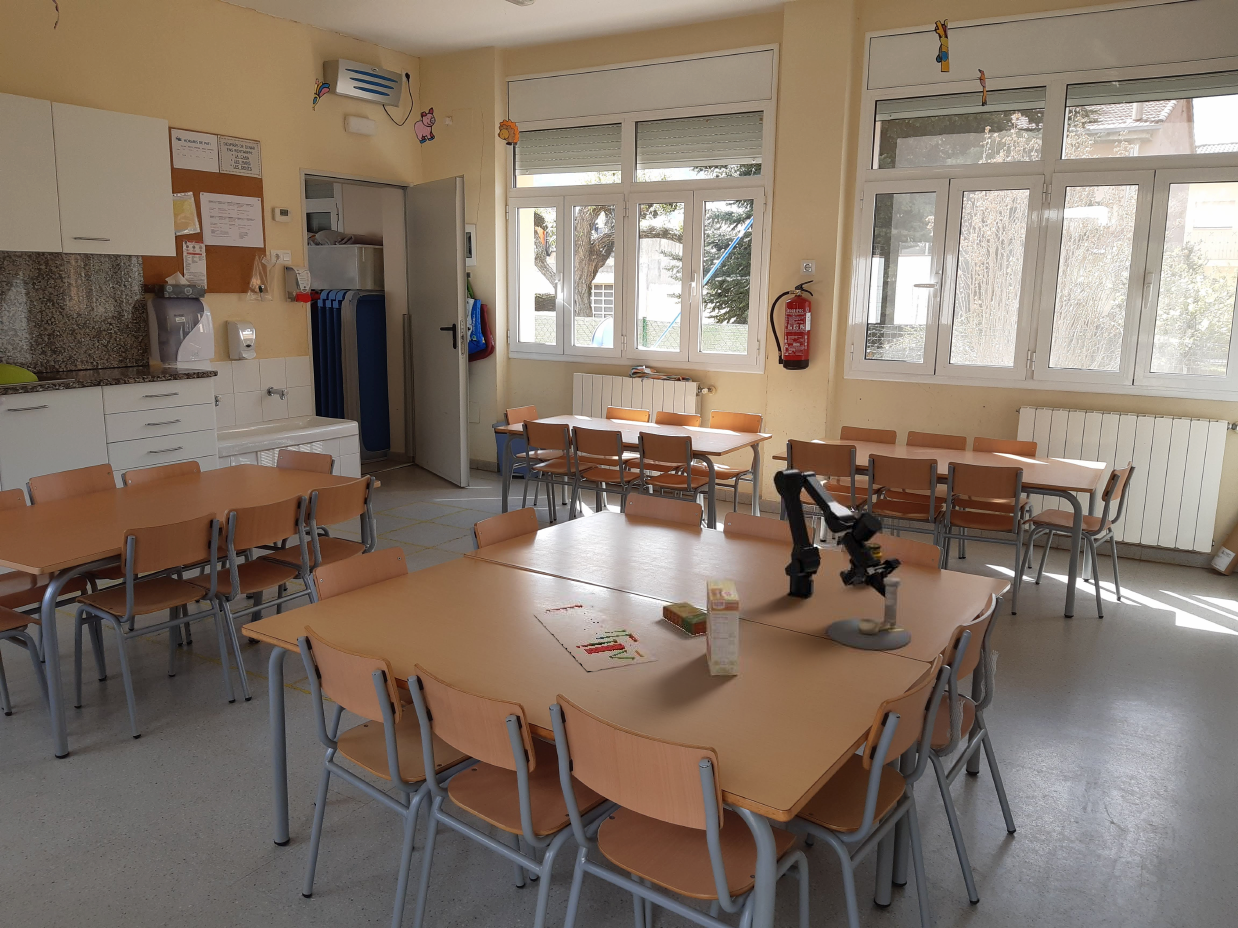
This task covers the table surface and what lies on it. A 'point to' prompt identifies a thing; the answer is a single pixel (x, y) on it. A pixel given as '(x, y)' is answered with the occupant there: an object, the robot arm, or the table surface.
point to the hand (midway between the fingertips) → (887, 597)
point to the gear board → (608, 647)
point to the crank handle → (890, 610)
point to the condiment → (876, 550)
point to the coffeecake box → (722, 627)
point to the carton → (686, 617)
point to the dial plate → (868, 636)
